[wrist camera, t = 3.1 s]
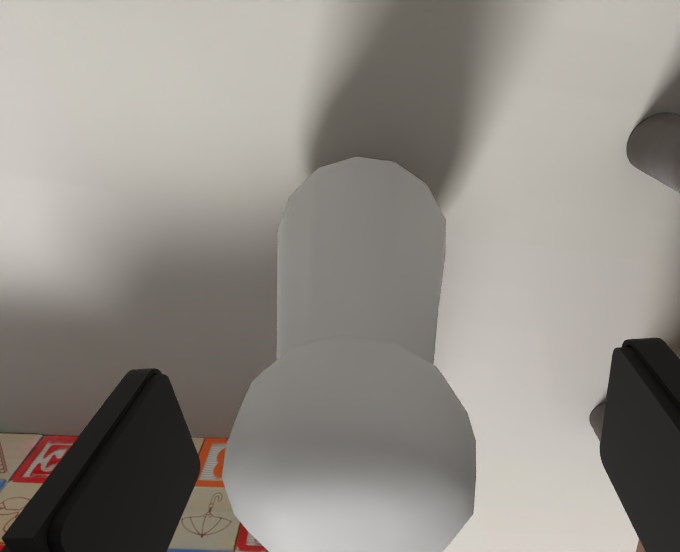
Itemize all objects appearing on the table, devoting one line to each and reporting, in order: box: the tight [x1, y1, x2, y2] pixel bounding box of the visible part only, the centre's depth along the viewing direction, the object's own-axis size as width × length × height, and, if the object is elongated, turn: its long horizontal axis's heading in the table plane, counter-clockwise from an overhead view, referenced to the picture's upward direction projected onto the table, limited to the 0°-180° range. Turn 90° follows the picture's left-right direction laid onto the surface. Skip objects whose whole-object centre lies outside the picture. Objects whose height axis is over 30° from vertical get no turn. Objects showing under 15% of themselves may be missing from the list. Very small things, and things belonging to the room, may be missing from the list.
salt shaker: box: [222, 156, 476, 552], centre depth 13 cm, size 6×6×13 cm
